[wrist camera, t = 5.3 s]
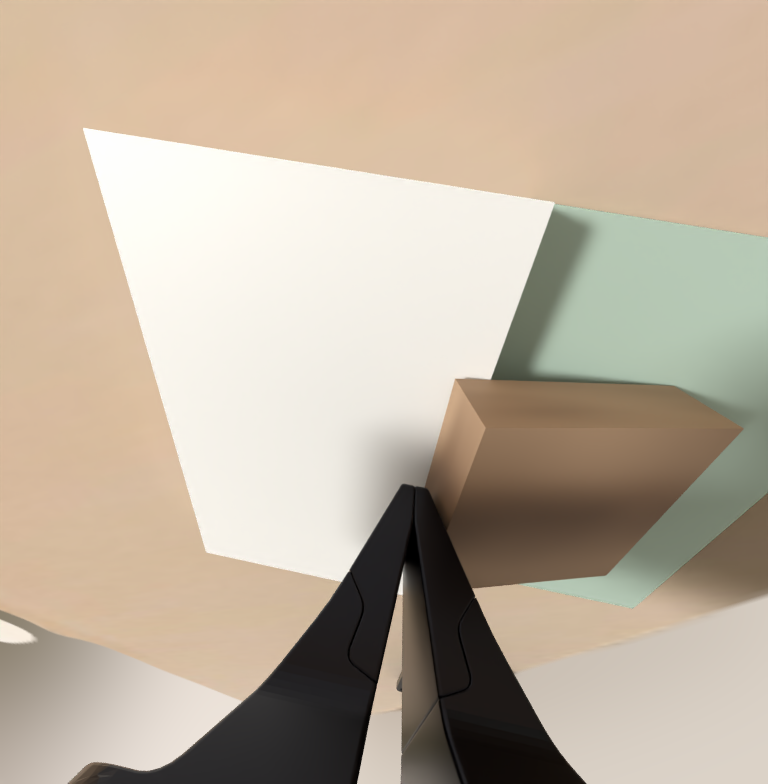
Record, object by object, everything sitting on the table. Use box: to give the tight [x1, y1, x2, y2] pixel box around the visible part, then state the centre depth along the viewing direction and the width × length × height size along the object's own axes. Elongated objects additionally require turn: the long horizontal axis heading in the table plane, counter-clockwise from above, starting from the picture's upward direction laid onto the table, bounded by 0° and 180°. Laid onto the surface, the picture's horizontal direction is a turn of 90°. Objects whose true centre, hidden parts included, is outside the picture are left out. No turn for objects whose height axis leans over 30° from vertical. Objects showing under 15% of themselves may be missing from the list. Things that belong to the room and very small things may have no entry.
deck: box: [83, 128, 555, 595], centre depth 12 cm, size 16×10×2 cm, turn 172°
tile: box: [425, 379, 744, 588], centre depth 10 cm, size 7×7×2 cm
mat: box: [491, 204, 768, 609], centre depth 12 cm, size 16×11×1 cm
